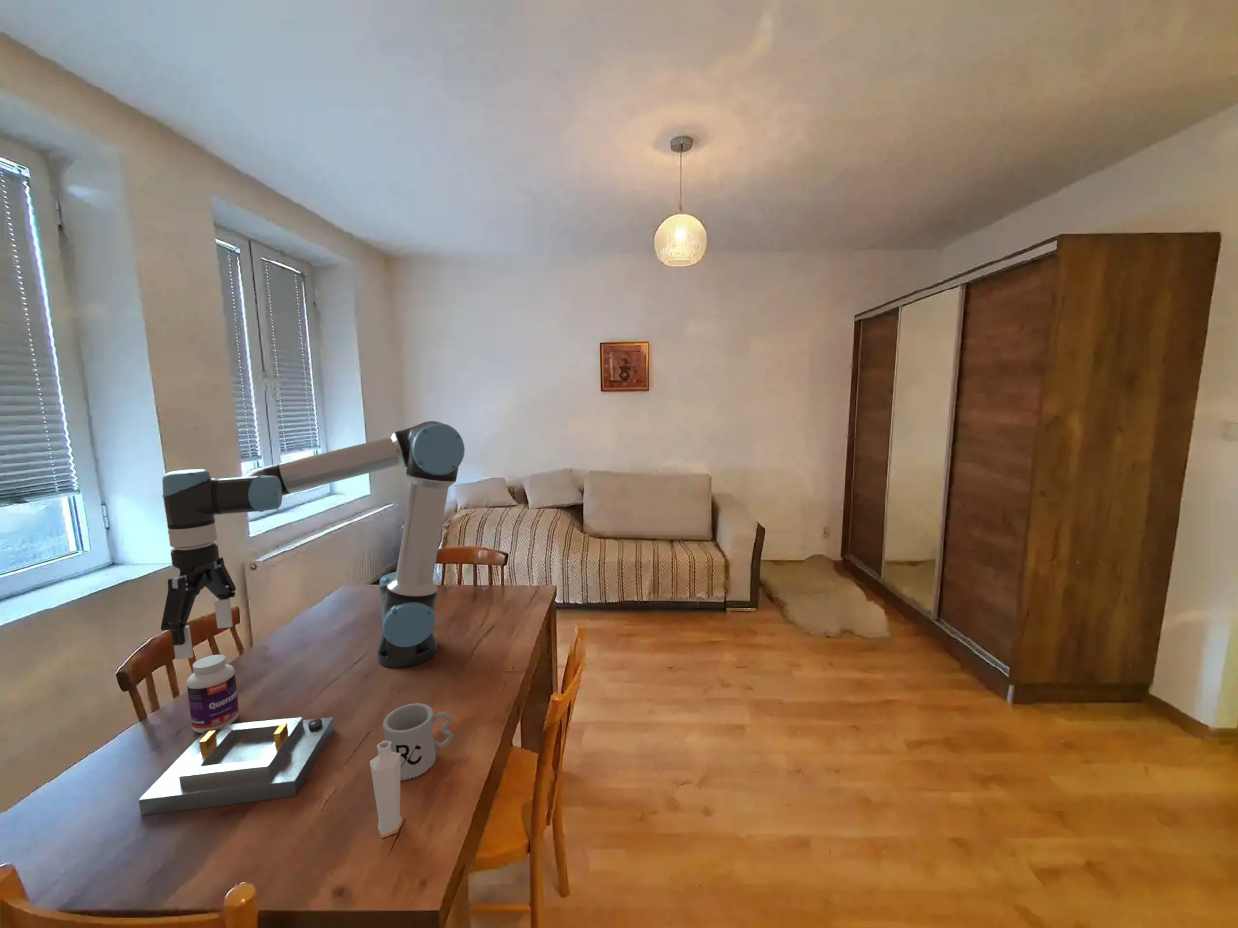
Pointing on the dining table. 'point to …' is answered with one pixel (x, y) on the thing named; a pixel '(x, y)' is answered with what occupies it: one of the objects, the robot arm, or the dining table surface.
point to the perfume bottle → (387, 787)
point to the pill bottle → (212, 694)
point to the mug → (414, 737)
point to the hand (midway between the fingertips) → (206, 641)
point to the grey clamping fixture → (240, 765)
